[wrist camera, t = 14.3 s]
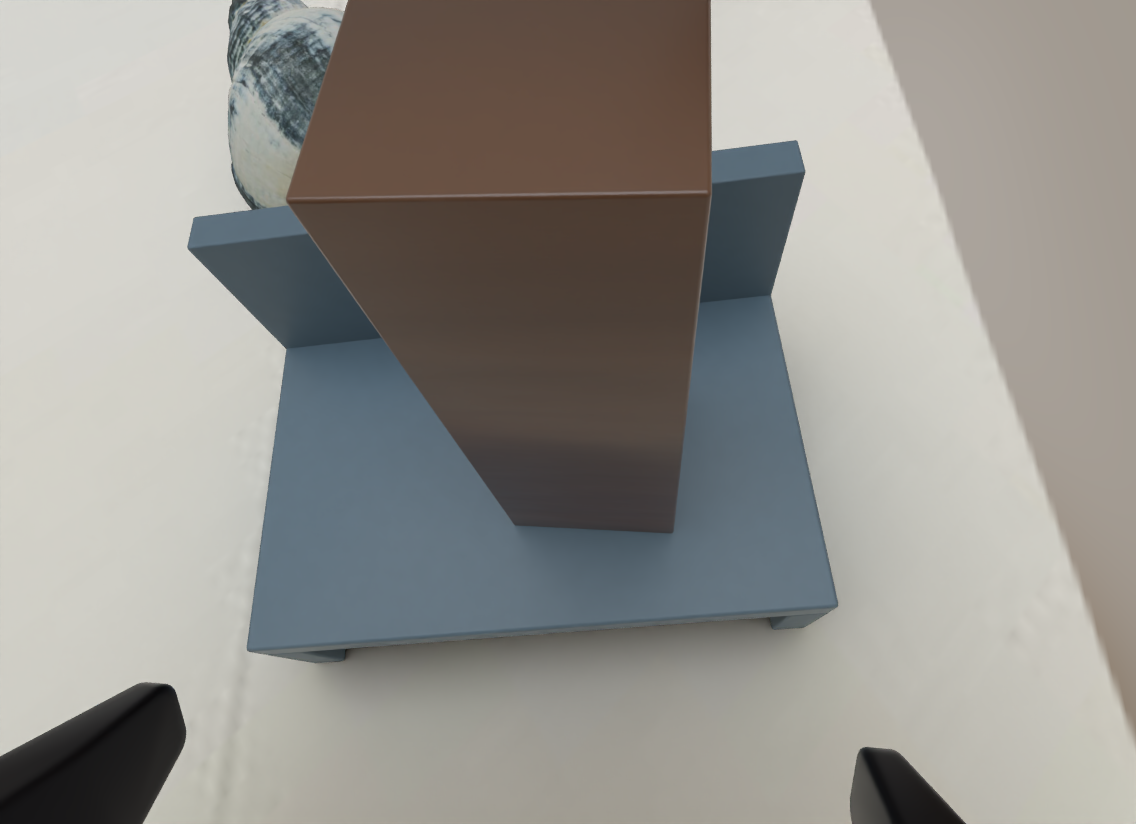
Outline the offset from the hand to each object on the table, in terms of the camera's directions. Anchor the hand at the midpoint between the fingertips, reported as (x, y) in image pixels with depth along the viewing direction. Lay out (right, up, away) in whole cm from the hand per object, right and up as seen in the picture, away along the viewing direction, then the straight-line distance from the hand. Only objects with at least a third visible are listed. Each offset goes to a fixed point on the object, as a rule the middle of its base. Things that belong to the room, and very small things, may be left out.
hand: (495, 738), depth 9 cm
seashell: (-9, +15, +21) cm, 27 cm away
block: (+2, +3, +10) cm, 10 cm away
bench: (0, +2, +14) cm, 14 cm away
